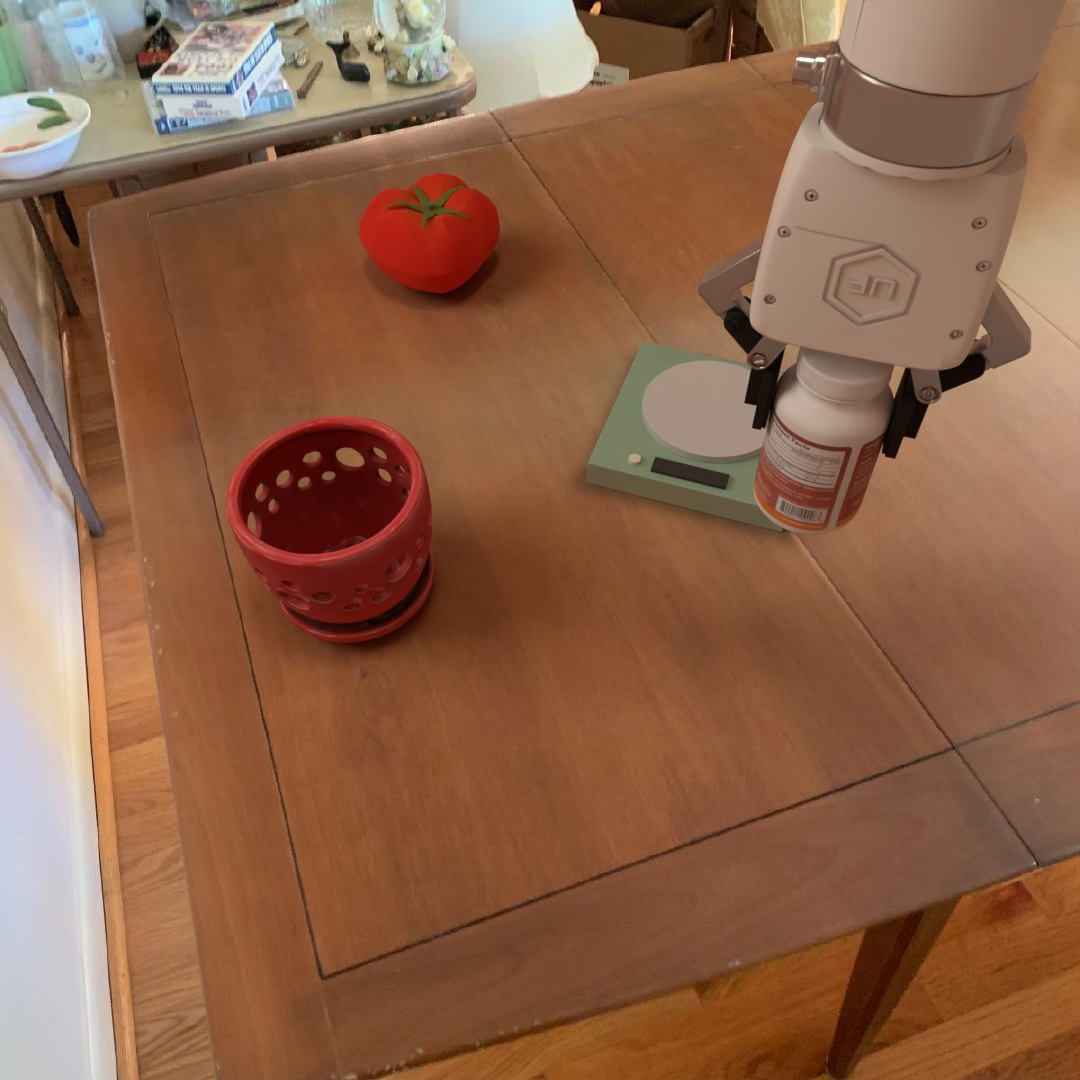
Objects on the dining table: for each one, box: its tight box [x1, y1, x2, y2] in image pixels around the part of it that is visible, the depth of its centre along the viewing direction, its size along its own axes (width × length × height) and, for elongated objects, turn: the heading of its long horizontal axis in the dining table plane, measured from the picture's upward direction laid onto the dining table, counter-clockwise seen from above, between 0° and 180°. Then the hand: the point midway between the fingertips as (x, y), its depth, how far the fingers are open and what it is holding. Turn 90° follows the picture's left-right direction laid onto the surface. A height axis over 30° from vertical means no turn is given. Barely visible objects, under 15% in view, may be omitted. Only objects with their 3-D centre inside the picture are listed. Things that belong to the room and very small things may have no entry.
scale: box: [586, 341, 785, 533], centre depth 81 cm, size 16×16×3 cm
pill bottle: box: [754, 347, 895, 536], centre depth 53 cm, size 6×6×11 cm
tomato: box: [358, 172, 501, 294], centre depth 94 cm, size 14×13×9 cm
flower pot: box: [225, 415, 436, 644], centre depth 68 cm, size 13×13×12 cm
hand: (826, 423), depth 52 cm, fingers closed on pill bottle, 6 cm apart
